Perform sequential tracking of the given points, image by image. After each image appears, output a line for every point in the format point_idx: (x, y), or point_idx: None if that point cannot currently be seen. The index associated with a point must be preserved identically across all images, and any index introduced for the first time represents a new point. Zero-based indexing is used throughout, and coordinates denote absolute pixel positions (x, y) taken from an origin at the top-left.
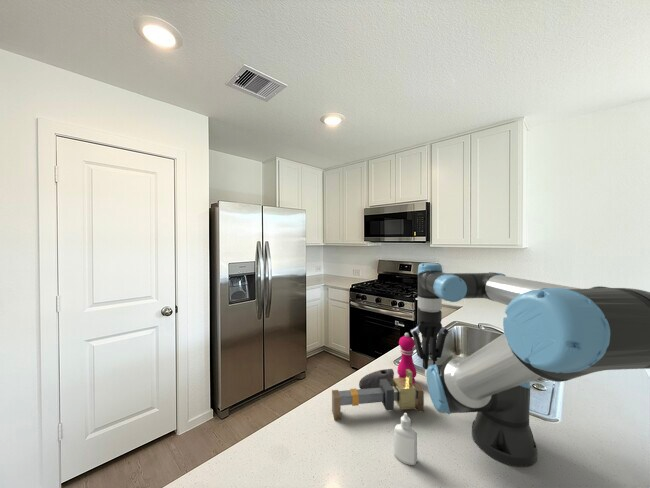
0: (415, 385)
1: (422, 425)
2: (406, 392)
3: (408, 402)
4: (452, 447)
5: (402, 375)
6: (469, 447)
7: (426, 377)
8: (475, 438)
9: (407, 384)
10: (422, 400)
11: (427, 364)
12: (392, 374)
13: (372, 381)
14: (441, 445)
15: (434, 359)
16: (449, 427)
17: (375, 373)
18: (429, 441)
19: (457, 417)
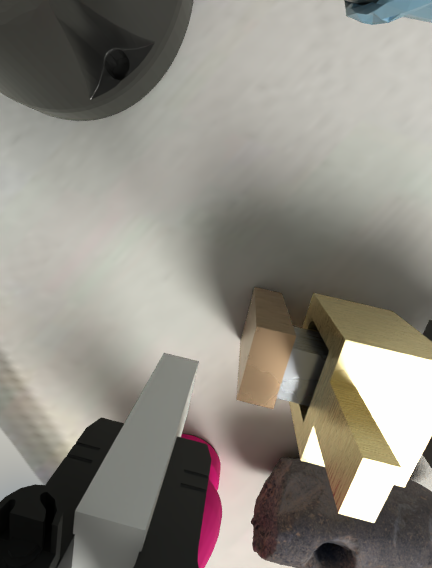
0: (264, 388)
1: (329, 214)
2: (404, 343)
3: (361, 313)
4: (310, 40)
5: (216, 497)
6: (234, 12)
7: (191, 394)
8: (184, 7)
9: (364, 395)
10: (262, 305)
11: (169, 487)
12: (290, 521)
13: (416, 519)
14: (349, 70)
15: (45, 524)
16: (221, 159)
17: (391, 565)
18: (381, 113)
19: (137, 200)
